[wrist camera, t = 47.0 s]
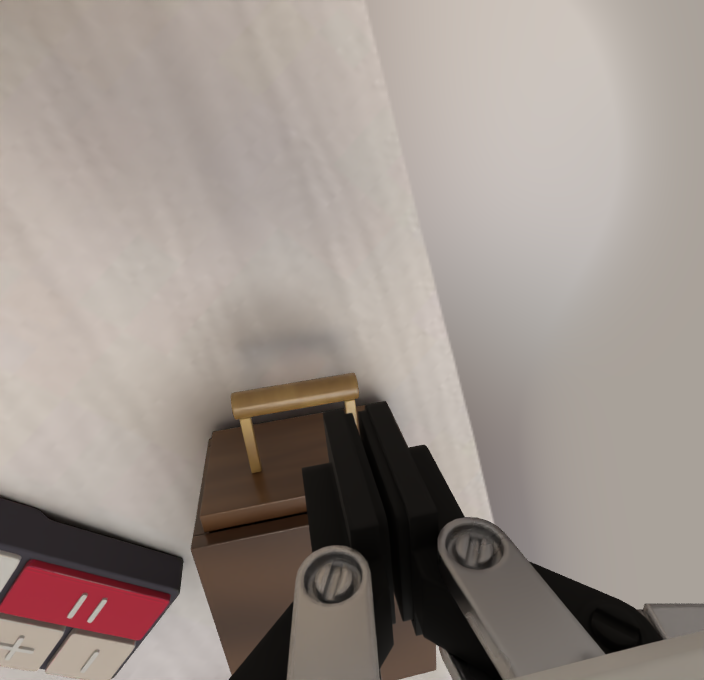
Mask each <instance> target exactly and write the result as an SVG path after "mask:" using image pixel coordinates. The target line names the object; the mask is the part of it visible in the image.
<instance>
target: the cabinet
mask: <svg viewBox="0 0 704 680" xmlns="http://www.w3.org/2000/svg"><path fill="white" fill-rule="evenodd" d="M389 409H390V408H389ZM390 411H391V410H390ZM391 413H392V412H391ZM392 415H393V414H392ZM393 417H394V416H393ZM394 419H395V418H394ZM395 421H396V420H395ZM397 426H398V425H397ZM398 428H399V427H398ZM399 430H400V429H399ZM400 432H401V431H400ZM401 434H402V433H401ZM402 436H403V435H402ZM403 438H404V437H403ZM404 440H405V439H404ZM405 443H406V442H405ZM210 445H211V439H209V442H208V448H207V454H206V460H205V466H204V472H203V478H202V484H201V491H200V497H199V503H198V509H197V515H196V521H195V527H194V533H193V539H192V545H191V552H192V555H193V558H194V561H195V564H196V567H197V570H198V573H199V576H200V579H201V583H202V586H203V589H204V592H205V595H206V598H207V601H208V604H209V607H210V610H211V613H212V616H213V619H214V622H215V625H216V629H217V632H218V635H219V638H220V641H221V644H222V647H223V650H224V653H225V656H226V659H227V662H228V665H229V668H230V672H231V675H233V674H234V672H235V671H236V670H237V669H238V668H239V666H240V665H241V664H242V663H243V662H244V660H245V659H246V658H247V657H248V655H249V654H250V653H251V652H252V651H253V649H254V648H255V647H256V646H257V645H258V643H259V642H260V641H261V640H262V638H263V637H264V636H265V635H266V634H267V632H268V631H269V630H270V629H271V628H272V626H273V625H274V624H275V623H276V621H277V620H278V619H279V618H280V617H281V615H282V614H283V613H284V612H285V611H286V609H287V608H288V607H289V606H290V604H291V603H292V602H293V601H294V592H295V581H296V576H297V572H298V569H299V567H300V566H301V564H302V563H303V561H304V560H305V559H306V558H307V557H308V556H309V555H310V554H312V547H311V539H310V531H309V524H308V516H307V514H302V515H297V516H292V517H288V518H283V519H278V520H273V521H268V522H263V523H258V524H253V525H248V526H243V527H238V528H233V529H228V530H226V528H224V529H219V530H214V531H209V532H204V530H203V527H202V524H201V520H200V517H199V516H200V510H201V503H202V497H203V490H204V484H205V477H206V471H207V465H208V458H209V452H210ZM406 445H407V444H406ZM407 447H408V446H407ZM394 603H395V616H396V624H392V626H393V639H394V645H393V647H392V649H391V651H390V652H389V654H388V656H387V658H386V659H385V661H384V663H383V664H382V666H381V679H382V680H399V679H402V678H406V677H410V676H414V675H418V674H422V673H426V672H430V671H434V670H436V644H434V643H433V642H431V641H429V640H427V639H426V638H424V637H423V634H422V635H418V636H416V634H415V631H414V628H413V625H412V622H411V620H409V621H404V622H403V621H402V618H401V615H400V612H399V608H398V605H397V601H396V598H395V595H394Z"/></svg>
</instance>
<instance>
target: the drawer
mask: <svg viewBox="0 0 704 680" xmlns="http://www.w3.org/2000/svg"><path fill="white" fill-rule="evenodd" d="M357 398H359V388H358V382H357V378H356V375H355V373H348V374H342V375H336V376H330V377H324V378H318V379H312V380H306V381H300V382H294V383H288V384H282V385H276V386H270V387H264V388H258V389H252V390H246V391H240V392H234V393H232V394H231V406H232V412H233V416H234V418H235V419H240V424H241V427H237V428H231V429H225V430H220V431H214V432H213V433H212V439H211V445H210V452H209V458H208V465H207V471H206V477H205V484H204V490H203V497H202V503H201V510H200V516H199V517H200V520H201V524H202V527H203V530H204V532H209V531H214V530H219V529H224V528H226V530H228V529H233V528H238V527H243V526H248V525H253V524H254V522H258V521H263V520H268V519H273V518H278V517H283V516H288V515H293V514H298V513H303V512H307V508H306V500H305V492H304V484H303V476H302V468H304V467H309V466H314V465H320V464H325V463H329V457H328V450H327V443H326V435H325V428H324V421H323V412H322V413H316V414H311V415H305V416H299V417H294V418H288V419H282V420H276V421H271V422H265V423H259V424H254V425H253V423H252V419H251V417H254V416H260V415H265V414H271V413H277V412H283V411H288V410H294V409H300V408H306V407H311V406H317V405H323V404H329V403H335V402H340V401H344V406H345V409H343V410H344V413H345V414H346V413H352V414H353V416H354V419H355V422H356V425H357V429H358V432H359V435H360V431H359V421H358V411H363V410H365V405H362V406H356V404H355V399H357Z"/></svg>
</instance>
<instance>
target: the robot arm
mask: <svg viewBox="0 0 704 680" xmlns="http://www.w3.org/2000/svg"><path fill="white" fill-rule="evenodd" d="M323 421H324V428H325V435H326V443H327V450H328V457H329V463H325V464H320V465H314V466H309V467H304V468H302V476H303V484H304V492H305V500H306V508H307V516H308V524H309V531H310V539H311V547H312V554H310V555H309V556H308V557H307V558H306V559H305V560H304V561H303V563H302V564H301V566H300V567H299V569H298V572H297V576H296V581H295V592H294V601H293V602H292V603H291V604H290V606H289V607H288V608H287V609H286V611H285V612H284V613H283V614H282V615H281V617H280V618H279V619H278V620H277V621H276V623H275V624H274V625H273V626H272V628H271V629H270V630H269V631H268V632H267V634H266V635H265V636H264V637H263V638H262V640H261V641H260V642H259V643H258V645H257V646H256V647H255V648H254V649H253V651H252V652H251V653H250V654H249V655H248V657H247V658H246V659H245V660H244V662H243V663H242V664H241V665H240V666H239V668H238V669H237V670H236V671H235V672H234V674H233V675H232V676H231V677H230V679H229V680H382V679H381V666H382V664H383V663H384V661H385V659H386V658H387V656H388V654H389V652H390V651H391V649H392V647H393V645H394V639H393V626H392V624H396V616H395V603H394V595H395V598H396V601H397V605H398V608H399V612H400V615H401V618H402V621H403V622H404V621H409V620H411V622H412V625H413V628H414V631H415V634H416V636H418V635H422V634H423V637H424V638H426V639H427V640H429V641H431V642H433V643H434V644H436V645H438V646H439V650H440V653H441V656H442V659H443V661H444V663H445V665H446V667H447V669H448V671H449V673H450V675H451V677H452V679H453V680H704V604H645V605H644V608H643V610H636V609H635V608H634V607H632V606H630V605H628V604H627V603H625V602H623V601H621V600H619V599H617V598H614V597H612V596H609V595H607V594H605V593H603V592H600V591H598V590H595V589H593V588H591V587H588V586H586V585H583V584H581V583H579V582H577V581H574V580H572V579H569V578H567V577H565V576H562V575H560V574H558V573H555V572H553V571H550V570H548V569H546V568H543V567H541V566H539V565H536V564H533V563H532V562H529V561H528V560H527V559H526V558H525V557H524V556H523V554H522V553H521V552H520V551H519V549H518V548H517V547H516V546H515V545H514V543H513V542H512V541H511V540H510V539H509V537H508V536H507V535H506V534H505V533H504V532H503V531H502V530H501V529H500V528H499V527H497V526H496V525H494V524H493V523H491V522H489V521H487V520H483V519H479V518H472V517H464V515H463V513H462V511H461V509H460V507H459V506H458V504H457V502H456V500H455V498H454V496H453V494H452V492H451V491H450V489H449V487H448V485H447V483H446V481H445V479H444V477H443V476H442V474H441V472H440V470H439V468H438V466H437V464H436V462H435V461H434V459H433V457H432V455H431V453H430V451H429V449H428V448H427V446H425V445H420V446H415V447H409V448H408V447H407V445H406V443H405V440H404V438H403V436H402V434H401V432H400V430H399V428H398V426H397V423H396V421H395V419H394V417H393V415H392V413H391V411H390V409H389V407H388V404H387V403H386V401H383V402H377V403H371V404H365V410H363V411H358V421H359V431H360V435H359V432H358V429H357V425H356V422H355V419H354V416H353V414H352V413H346V414H345V413H344V410H343V409H337V410H331V411H326V412H323Z"/></svg>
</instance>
